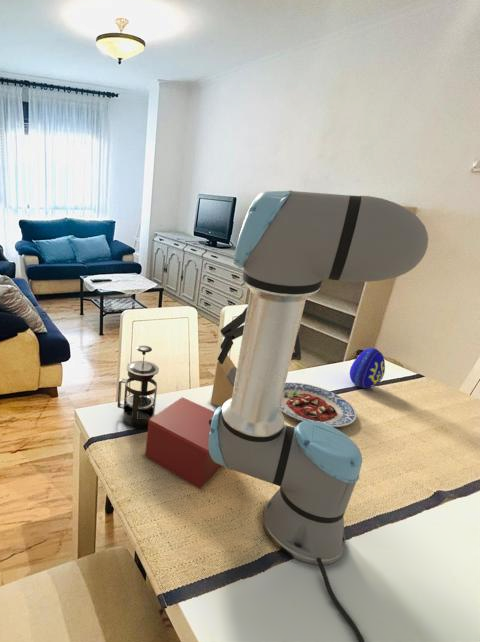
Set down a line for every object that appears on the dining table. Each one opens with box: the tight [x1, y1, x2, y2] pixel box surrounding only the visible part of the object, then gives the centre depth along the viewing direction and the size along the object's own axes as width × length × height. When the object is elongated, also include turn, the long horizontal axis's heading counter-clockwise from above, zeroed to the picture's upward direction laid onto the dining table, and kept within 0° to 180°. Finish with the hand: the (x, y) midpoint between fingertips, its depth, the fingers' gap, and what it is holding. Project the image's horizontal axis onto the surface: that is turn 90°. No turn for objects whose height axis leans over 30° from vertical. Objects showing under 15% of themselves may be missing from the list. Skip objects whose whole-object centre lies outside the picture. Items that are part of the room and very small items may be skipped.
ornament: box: [349, 347, 386, 390], centre depth 137 cm, size 11×9×15 cm
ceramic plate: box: [279, 382, 357, 428], centre depth 123 cm, size 26×26×3 cm
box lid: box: [149, 397, 215, 455], centre depth 93 cm, size 17×15×6 cm
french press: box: [117, 345, 160, 430], centre depth 108 cm, size 12×9×23 cm
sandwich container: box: [210, 355, 237, 407], centre depth 119 cm, size 9×15×15 cm, turn 58°
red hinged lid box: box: [144, 423, 223, 490], centre depth 96 cm, size 16×15×10 cm
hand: (245, 370), depth 93 cm, fingers open, 13 cm apart
